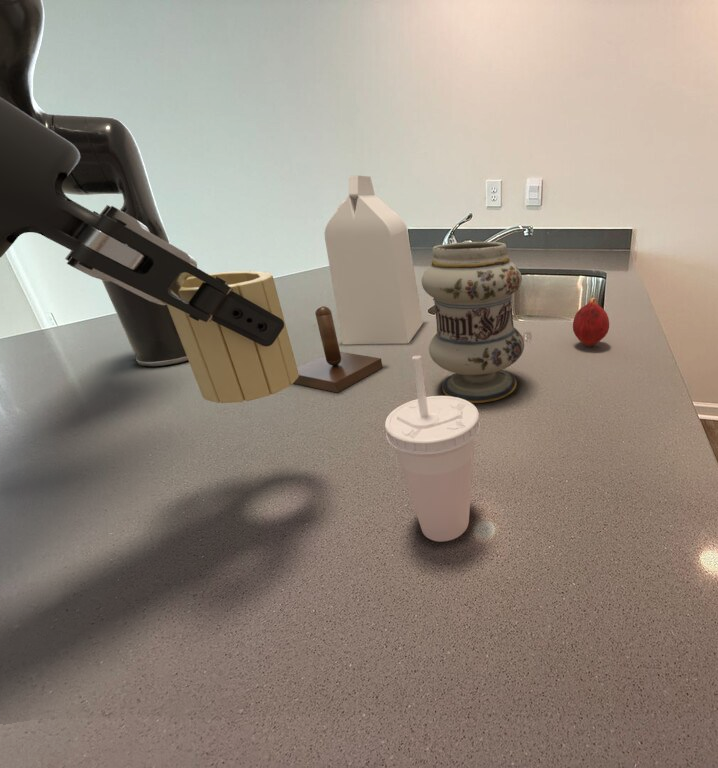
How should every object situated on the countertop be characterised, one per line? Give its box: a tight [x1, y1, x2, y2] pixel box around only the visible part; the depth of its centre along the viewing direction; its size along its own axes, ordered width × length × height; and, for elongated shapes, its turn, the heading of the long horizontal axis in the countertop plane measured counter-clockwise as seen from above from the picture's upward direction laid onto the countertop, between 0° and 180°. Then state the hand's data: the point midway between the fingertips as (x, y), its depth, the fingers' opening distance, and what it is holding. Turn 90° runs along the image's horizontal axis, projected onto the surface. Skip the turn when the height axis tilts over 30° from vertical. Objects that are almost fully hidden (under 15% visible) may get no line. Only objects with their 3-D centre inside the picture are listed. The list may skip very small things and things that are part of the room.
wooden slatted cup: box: [167, 270, 299, 404], centre depth 30 cm, size 6×6×8 cm
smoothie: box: [384, 355, 481, 542], centre depth 29 cm, size 6×6×14 cm
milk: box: [324, 175, 424, 346], centre depth 70 cm, size 12×12×26 cm
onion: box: [572, 297, 610, 347], centre depth 65 cm, size 6×6×8 cm
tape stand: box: [293, 305, 384, 393], centre depth 56 cm, size 9×9×10 cm
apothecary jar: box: [421, 241, 525, 404], centre depth 50 cm, size 12×12×18 cm
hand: (258, 324), depth 31 cm, fingers closed on wooden slatted cup, 6 cm apart
